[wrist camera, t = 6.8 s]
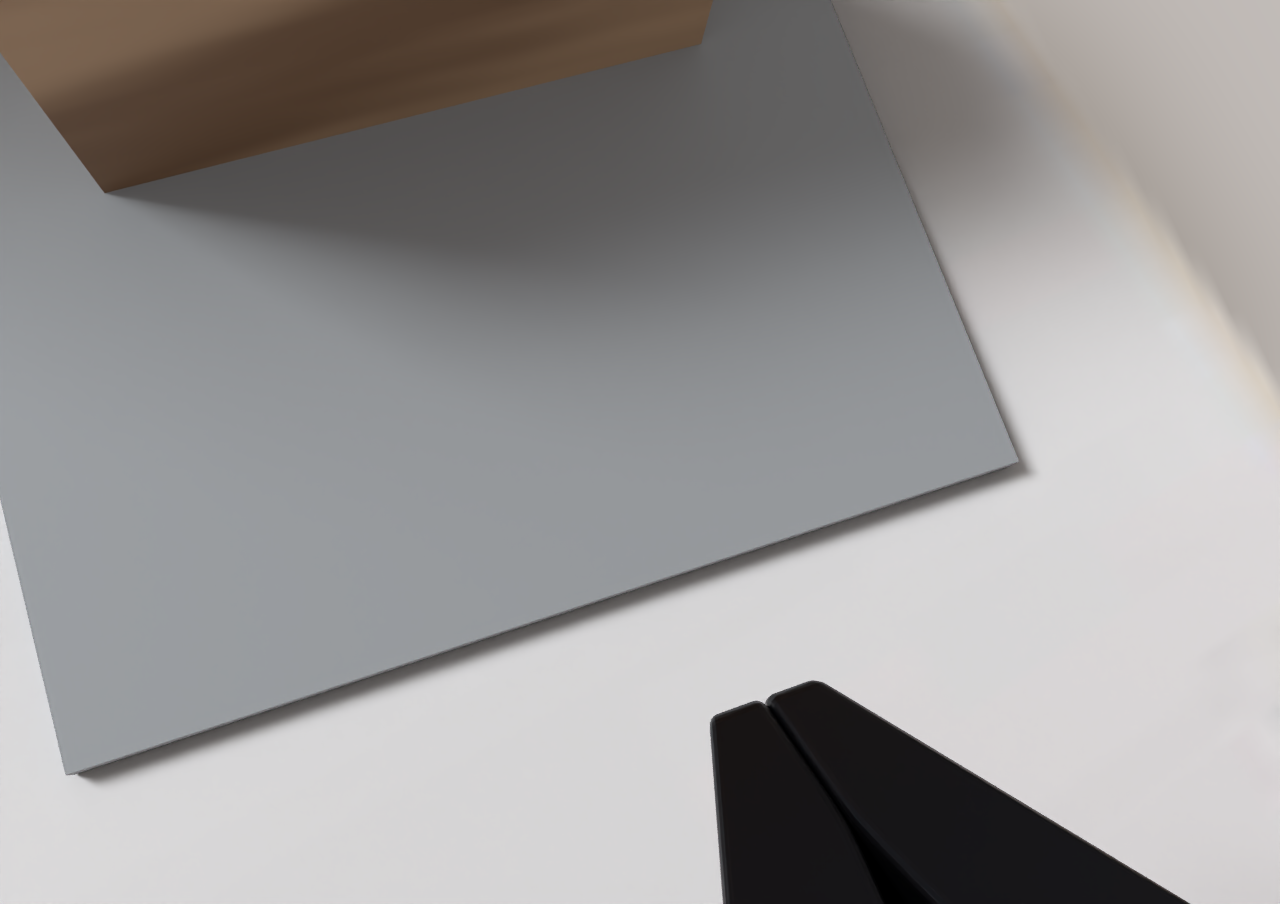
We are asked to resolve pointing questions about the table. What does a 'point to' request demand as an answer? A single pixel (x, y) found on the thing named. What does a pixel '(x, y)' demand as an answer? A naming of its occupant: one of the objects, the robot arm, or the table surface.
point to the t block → (298, 67)
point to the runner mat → (458, 372)
